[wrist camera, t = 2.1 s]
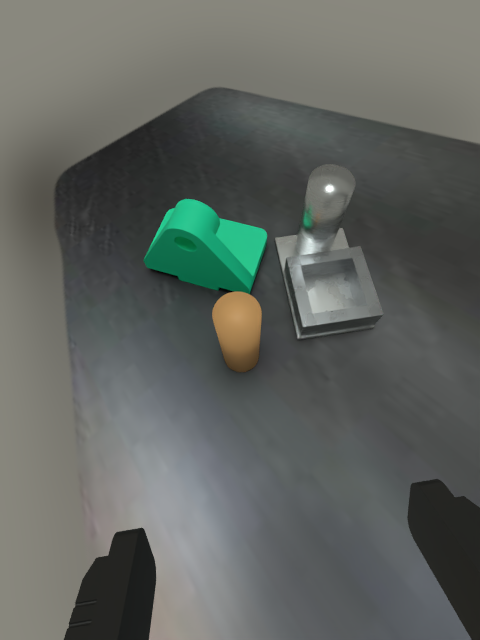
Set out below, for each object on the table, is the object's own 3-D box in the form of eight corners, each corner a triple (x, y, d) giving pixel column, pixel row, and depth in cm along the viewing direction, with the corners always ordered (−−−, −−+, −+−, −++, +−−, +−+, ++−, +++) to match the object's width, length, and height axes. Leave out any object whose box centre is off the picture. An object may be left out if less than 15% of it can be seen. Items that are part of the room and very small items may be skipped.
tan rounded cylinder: (243, 331, 36) (240, 282, 26) (266, 357, 35) (271, 316, 25) (217, 352, 35) (202, 310, 25) (238, 379, 34) (232, 346, 24)
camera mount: (268, 244, 40) (273, 177, 31) (249, 299, 38) (248, 246, 28) (174, 220, 42) (151, 151, 32) (150, 272, 39) (117, 213, 30)
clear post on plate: (372, 328, 36) (418, 279, 26) (297, 340, 35) (315, 295, 26) (341, 231, 40) (370, 158, 30) (274, 241, 40) (282, 171, 30)
